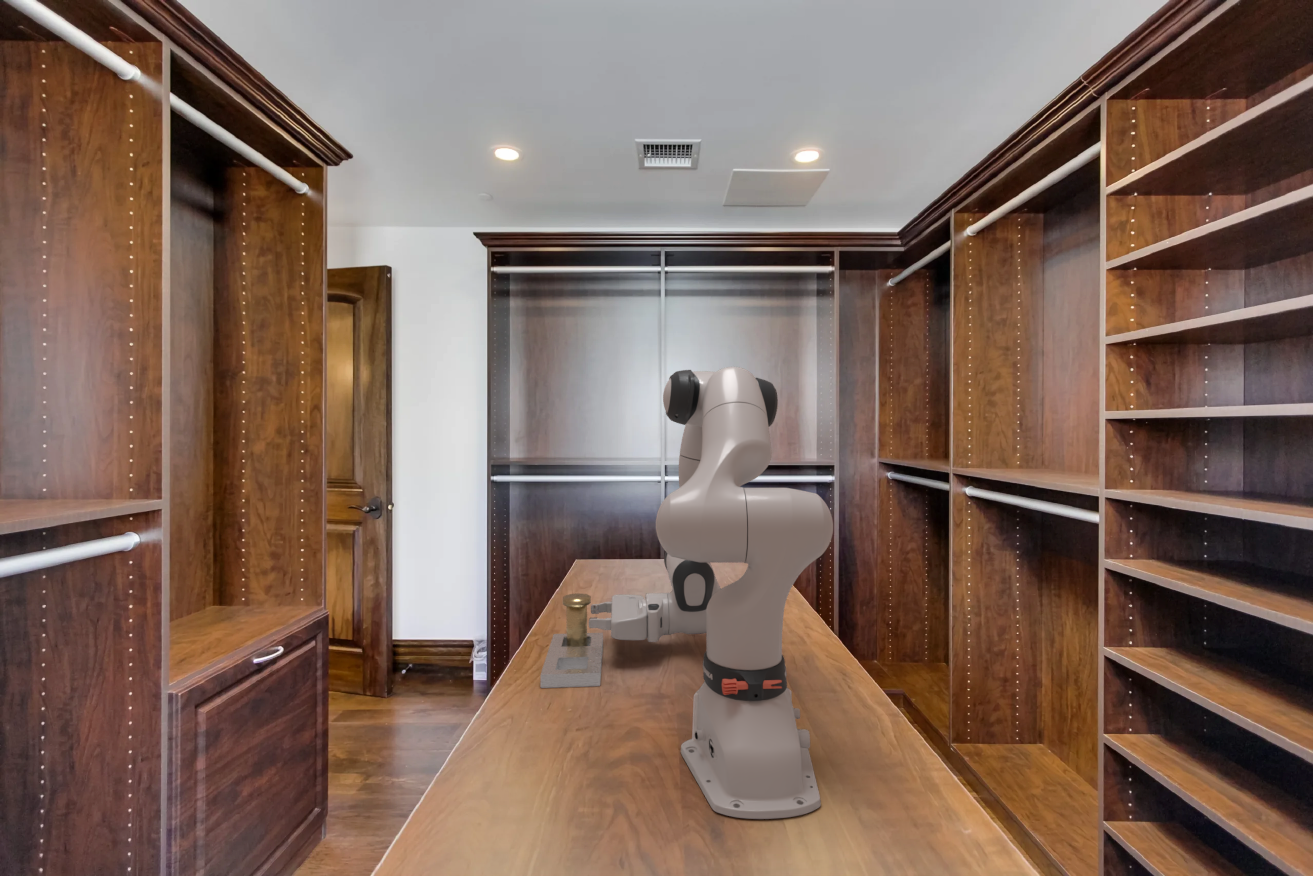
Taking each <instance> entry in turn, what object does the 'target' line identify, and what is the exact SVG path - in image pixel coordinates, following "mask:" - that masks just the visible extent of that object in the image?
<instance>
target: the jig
mask: <svg viewBox="0 0 1313 876" xmlns="http://www.w3.org/2000/svg"><path fill="white" fill-rule="evenodd" d="M603 648H604V632H587V646H569V647H567V633H553V635H552V638H551V641H550V644H549V647H548V650H547V654H546V656H545V660H544V663H543V665H542V669H541V673H540V689H551V688H555V689H557V688H577V687H579V688H583V687H586V688H587V687H600V686H601V677H602V676H601V675H602V663H603Z"/></svg>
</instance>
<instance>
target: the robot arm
mask: <svg viewBox="0 0 1313 876" xmlns="http://www.w3.org/2000/svg"><path fill="white" fill-rule="evenodd" d="M666 382H667V383H666V385H665V387H664V389H663V393H662V401H663V403H662V404H663V406H664V410H665V415H666V417H668V419H669V420H670V421H672V422H674V423H676V424H678V425H679V424H680V425H683V426H684V430H683V433H682V438H681V444H680V450H679V458H678V486H679V488H677V489H675V490H674V491H672V492H670V493H669V494H668V495H667V496H666V497H665V498H664V499H663V501H661V503H660V506H659V508H658V510H657V512H656V513H657V514H656V519H655V531H656V536H657V539H658V541H659V543H660V546H661V547H662V548H663V549H662V550H664V551H665V552H664V555H663V563H664V566H665V569H666V572H667V574H668V579H669V583H670V585H671V588H672V589H671V591H670V592H649V593H645V597H644V596H643V595H640V594H614V595H612V596H611V601H604V602H600V603H593V604H591V605H590V614H591V615H594V614H595V615H599V614H601V613H607V614H608V613H609V614H610V617H605V618H598V616H597V617H590V618H589V619H588V628H589V629H600V630H603V631H610V637H611V638H612V639H615V640H620V641H644V640H647V642H648V643H657V642H658V641H659V640H660V639H661V638H662V637H663V636H671V635H673V634H685V635H698V634H699V635H700V634H701V635H702V634H704V635H705V634H706V651H705V652H704V653H703V661H702V670H703V676H702V677H703V683H702V685H701V686H700V687H699V689H698V690H697V691H696V692H695V693H694V694H693V706H692V729H691V730H692V733H691V734H692V735H691V738H690V739H688V740H685V741H684V742H683V743H682V744H681V746H680V753H681V756H682V758H683V759H684V761H685V764H686V765H687V767H688V769H689V770H690V772H691V774H692V776H693V778H694V780H695V782H697V784H698V786H699V788H700V790H701V792H702V794H703V795H704V796H705V799H706V800H707V802H708V804H709V805H710V808H711V809H712V810H713V811H714V812H716V813H718V814H721V815H724V816H727V817H728V816H729V817H733V818H740V819H750V820H751V819H753V820H764V819H765V820H769V819H771V820H773V819H783V818H791V817H798V816H802V815H805V814H808V813H811V812H814V811H815V810H817V809H819V808H820V807H821V805H822V804H821V803H822V802H821V795H820V792H819V788H818V787H819V786H818V783H817V779H816V775H815V770H814V766H813V762H812V758H811V754H810V751H809V749H810V748H811V737H810V736H811V735H810V731H809V730H808V729H805V728H804V729H803V728H798V726H797V721H796V720H800V719H801V709H800V708H797V707H794V706H793V702H792V694H793V693H792V690H791V689H790V688H788V681H787V674H788V673H787V666H786V661H785V656H784V655H783V625H784V612H785V607H786V602H787V600H788V596H789V593H790V592H791V589H792V588H793V585H794V584H795V582H796V581H797V579H798V578H799V576H800V575H801V573H802V572H803V571H804V570H806V569H807V567H809V566H810V564H812V563H813V562H814V561H816V560H817V559H818V558H820V557H821V556H822V555H823V554H824V553H825V552H826V550H827V548H828V547H829V545H830V544H831V540H832V538H833V533H834V521H833V517H832V513H831V510H830V508H829V507H828V505H827V503H826V502H825V500H824V499H823V498H822V497H821V496H820V495H819V494H818V493H815V492H811V491H805V490H801V489H796V488H789V487H743V486H744V485H745V484H747V483H749V482H752V481H753V480H755V479H757V478H758V477H760V476H761V475H762V474H763V472H764V471H765V470H766V469H767V468H768V467H769V464H770V463H771V460H772V455H773V454H772V453H773V449H772V444H771V443H772V442H771V433H770V427H771V426H772V425H773V424H774V422H775V418H776V416H777V413H778V409H779V400H778V392H777V389H776V388H775V386H774V384H773V383H772V382H770V381H768V380H765V379H762V378H759V377H755V375H753V373H751V372H750V371H749V370H747V369H745V368H743V367H740V366H739V367H738V366H726V367H722V368H721V369H720V368H719V370H716V371H709V370H708V371H707V370H702V371H701V370H700V371H698V370H697V371H692V369H683V370H677V371H675V372H673V373H672V375H670V376H669V378H668V381H666ZM712 563H717V564H718V563H722V564H723V563H727V564H728V563H731V564H732V563H736V564H737V563H739V564H741V563H742V564H743V563H744V564H747V568H746V570H745V572H744V573H743V574H742V576H741V577H739V579H737V580H735V581H734V582H732V583H730V584H726V585H725V586H723V587H721V586H720V584H719V582H718V579H717V577H716V574H715V571H714V567H713V566H712Z"/></svg>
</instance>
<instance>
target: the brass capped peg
mask: <svg viewBox="0 0 1313 876" xmlns="http://www.w3.org/2000/svg"><path fill="white" fill-rule="evenodd" d="M591 600H592V599H591V595H590V594H587V593H579V592H578V593H571V594H570V593H569V594H565V595H564V596H562V605H563V606H565V608H566V614H565V615H566V634H567V647H569V646H587V633H588V606H589V605H590V604H591V602H592V601H591Z"/></svg>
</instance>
